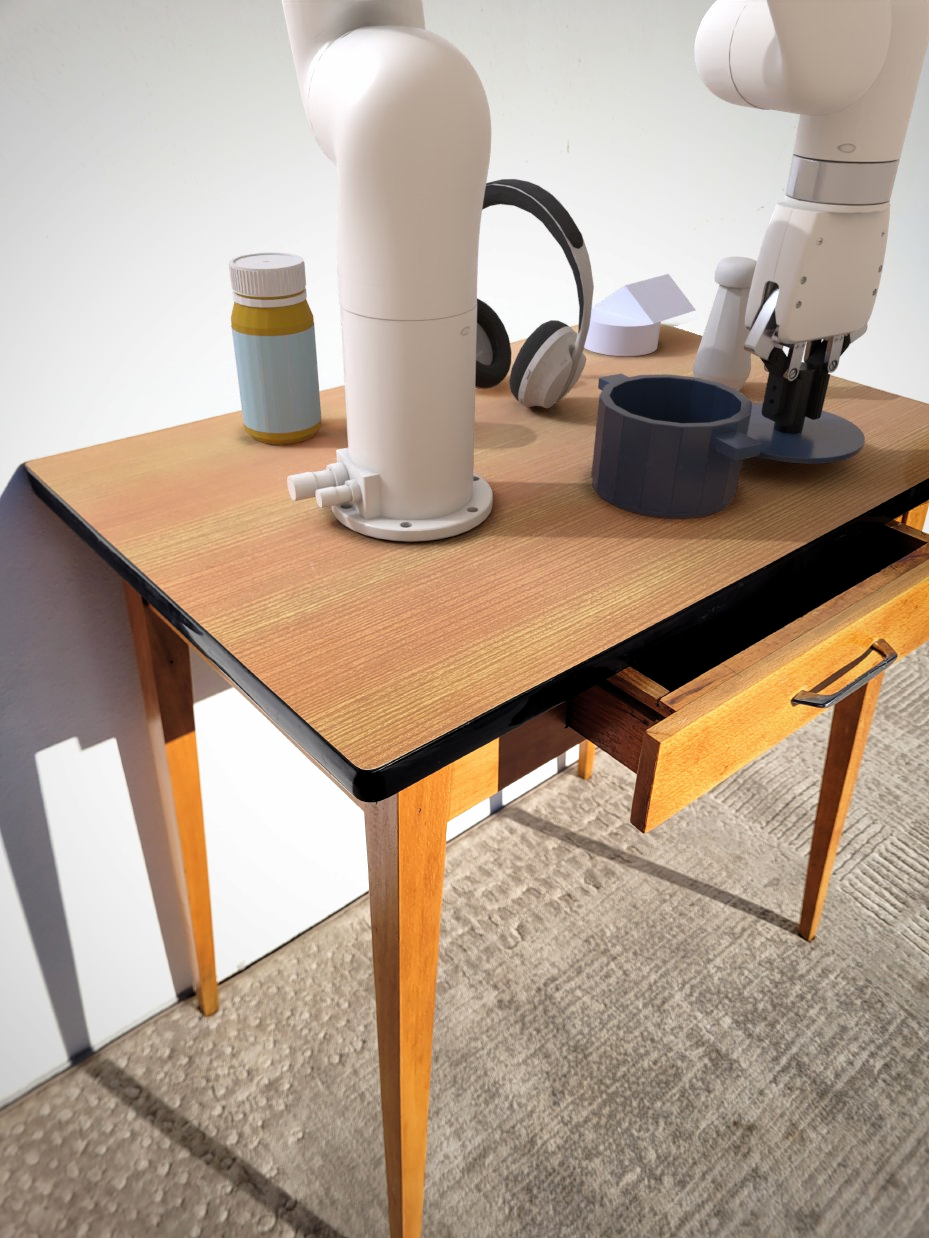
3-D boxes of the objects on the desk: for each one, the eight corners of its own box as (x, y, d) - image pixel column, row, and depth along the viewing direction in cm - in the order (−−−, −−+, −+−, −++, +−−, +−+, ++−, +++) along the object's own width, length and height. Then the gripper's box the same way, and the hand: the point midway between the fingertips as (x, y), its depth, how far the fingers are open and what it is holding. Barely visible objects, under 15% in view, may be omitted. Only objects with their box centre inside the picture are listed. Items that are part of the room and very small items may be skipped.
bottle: (302, 412, 89) (287, 248, 80) (335, 436, 84) (323, 264, 75) (233, 426, 85) (211, 256, 77) (263, 452, 81) (242, 274, 72)
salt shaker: (742, 382, 98) (766, 253, 91) (751, 401, 93) (777, 267, 86) (686, 379, 98) (706, 251, 91) (692, 398, 94) (713, 264, 86)
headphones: (606, 412, 90) (629, 188, 79) (549, 434, 85) (566, 199, 74) (467, 365, 101) (470, 164, 90) (410, 382, 96) (406, 172, 85)
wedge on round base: (631, 322, 116) (564, 343, 108) (637, 267, 112) (569, 284, 105) (691, 338, 111) (626, 361, 103) (700, 280, 107) (633, 300, 99)
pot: (672, 546, 67) (688, 450, 63) (547, 461, 80) (553, 377, 76) (789, 514, 72) (810, 423, 68) (654, 438, 85) (665, 357, 80)
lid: (784, 482, 73) (801, 402, 70) (682, 428, 82) (692, 355, 79) (894, 452, 78) (915, 377, 75) (786, 405, 87) (800, 336, 84)
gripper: (875, 170, 75) (824, 389, 85) (723, 184, 69) (688, 419, 79) (954, 183, 69) (890, 416, 80) (797, 199, 63) (749, 450, 73)
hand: (790, 415), depth 79 cm, fingers closed on lid, 2 cm apart
